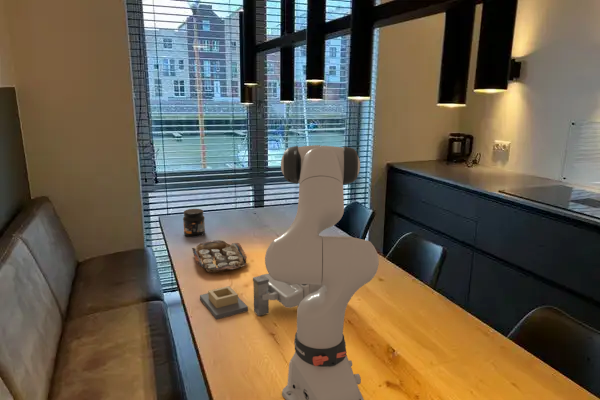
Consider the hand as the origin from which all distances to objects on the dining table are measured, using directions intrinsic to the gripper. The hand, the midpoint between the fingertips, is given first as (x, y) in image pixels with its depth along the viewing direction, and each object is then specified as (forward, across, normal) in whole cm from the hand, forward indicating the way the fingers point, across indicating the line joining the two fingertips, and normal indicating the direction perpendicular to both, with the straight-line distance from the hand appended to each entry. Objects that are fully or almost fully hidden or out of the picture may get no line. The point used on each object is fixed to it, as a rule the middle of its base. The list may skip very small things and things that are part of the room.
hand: (258, 294), depth 140 cm
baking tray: (-5, -48, +7) cm, 49 cm away
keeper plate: (+8, -12, +7) cm, 16 cm away
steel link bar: (-1, 0, +7) cm, 7 cm away
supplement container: (-8, -89, +7) cm, 90 cm away
